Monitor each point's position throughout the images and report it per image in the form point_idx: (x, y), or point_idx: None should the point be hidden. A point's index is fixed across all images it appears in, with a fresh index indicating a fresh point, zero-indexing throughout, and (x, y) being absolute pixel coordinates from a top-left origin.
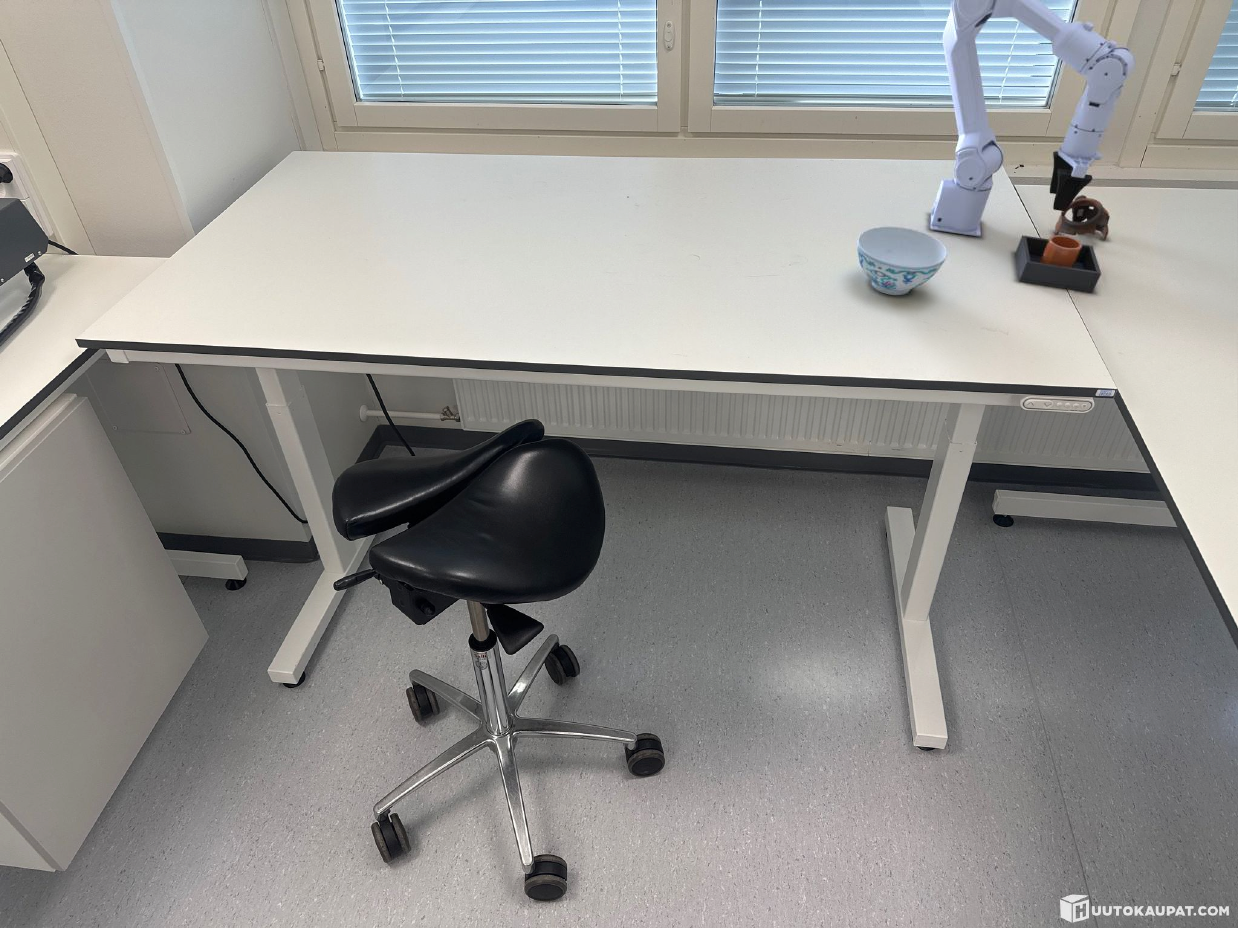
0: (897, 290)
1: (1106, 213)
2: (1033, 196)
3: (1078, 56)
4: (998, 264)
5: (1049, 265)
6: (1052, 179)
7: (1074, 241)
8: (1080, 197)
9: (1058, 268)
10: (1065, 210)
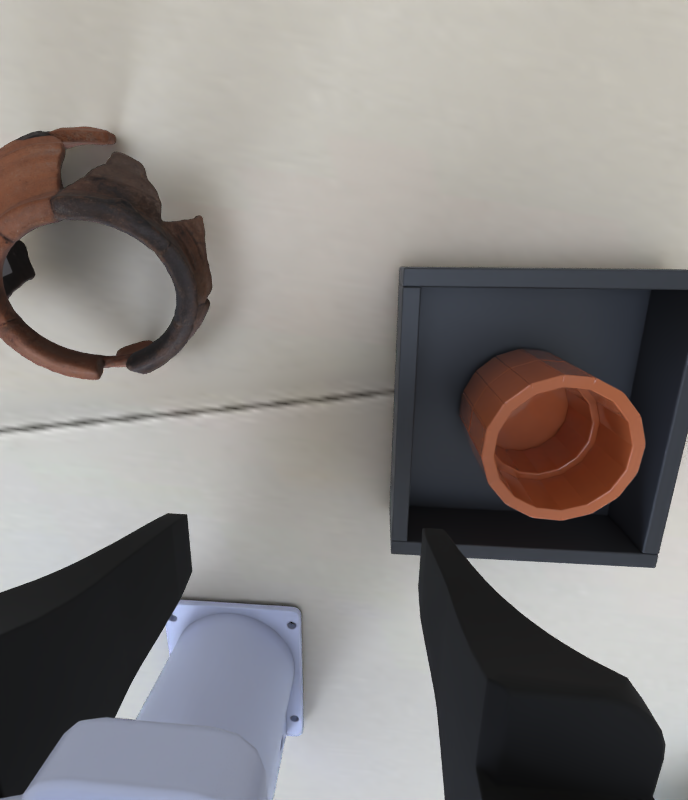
0: None
1: (55, 163)
2: None
3: None
4: (491, 568)
5: (671, 488)
6: (148, 648)
7: (523, 401)
8: None
9: (681, 451)
10: (445, 532)
